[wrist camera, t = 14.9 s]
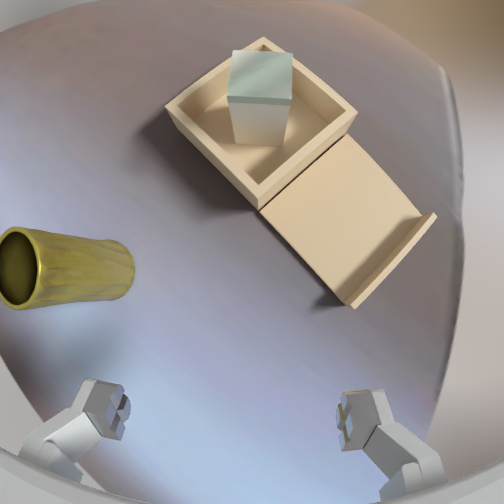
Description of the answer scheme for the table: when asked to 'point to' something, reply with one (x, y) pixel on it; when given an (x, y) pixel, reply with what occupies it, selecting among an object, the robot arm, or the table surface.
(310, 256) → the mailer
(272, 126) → the carton
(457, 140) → the table surface
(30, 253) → the vase
